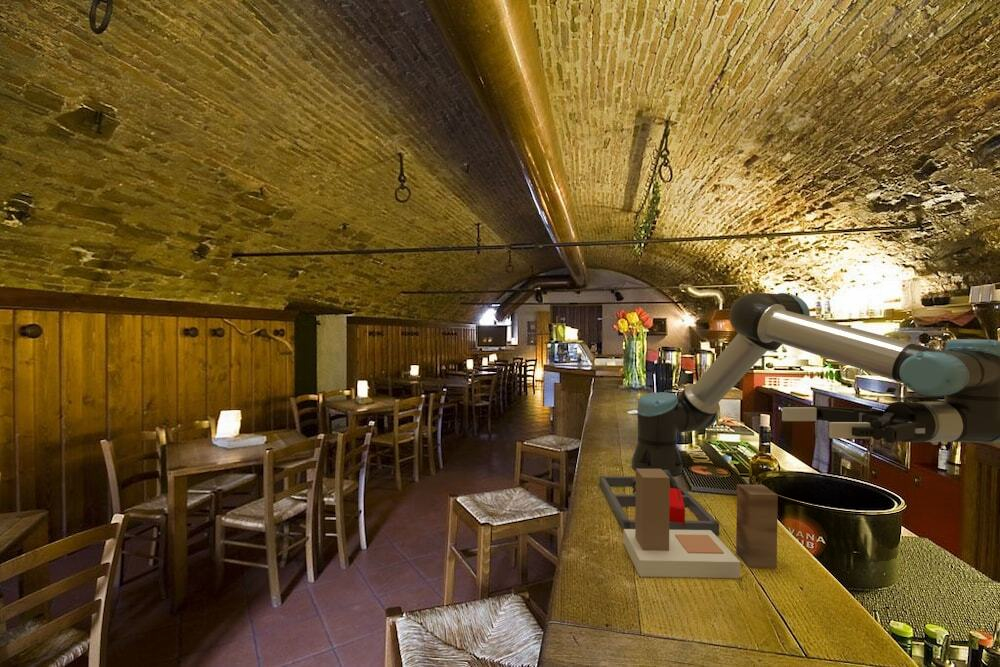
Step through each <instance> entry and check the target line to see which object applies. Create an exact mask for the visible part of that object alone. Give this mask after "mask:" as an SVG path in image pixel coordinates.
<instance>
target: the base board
mask: <svg viewBox="0 0 1000 667" xmlns="http://www.w3.org/2000/svg"><path fill="white" fill-rule="evenodd" d="M635 476H636V494H635V495H636V504H635V506H634V507H635V511H634V512H635V519H634V520H635V529H624V530H623V529H622V532H623V533H622V534H623V540H622V541H623V545H624V547H625V550H626V551H627V554H628V555H629V557H630V560H631V561H632V564H633V566H634V568H635V570H636V572H637V573H638V576H639V577H640V578H641V577H642V578H645V577H646V578H647V577H648V578H649V577H651V578H652V577H653V578H654V577H655V578H695V579H697V578H703V579H704V578H705V579H707V578H710V579H741V560H739V558H737V557H736V555H734V553H733V552H732V551H731V550H730V549H729V548H728V547H727V546H726V545H725V544H724V543H723V542H722V541H721V539H720V538H719V537H718V535H715V534H714V533H713V532H712V531H711V530H669V510H670V477H669V476H668V475H667V474H666V473H665V472H664V471H663V470H662V469H636V470H635Z"/></svg>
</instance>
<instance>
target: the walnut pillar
mask: <svg viewBox="0 0 1000 667" xmlns="http://www.w3.org/2000/svg"><path fill="white" fill-rule="evenodd" d="M778 496H779V495H778V494H777V493H776V492H774V491H773V490H771V489H770V488H768V487H767V486H766V485H764V484H738V483H737V484H736V528H735V529H736V532H735V536H736V537H735V538H736V539H735V540H736V542H735V544H736V545H735V546H736V548H735V550H736V551H735V554H736V555H737V557H739V558H740V559H741V561H743V563H744V564H745V565H746V566H747V567H748V568H749V569H777V564H778V562H777V561H778V555H777V554H778V512H779V511H778V510H779V508H778V502H779V497H778Z"/></svg>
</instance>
